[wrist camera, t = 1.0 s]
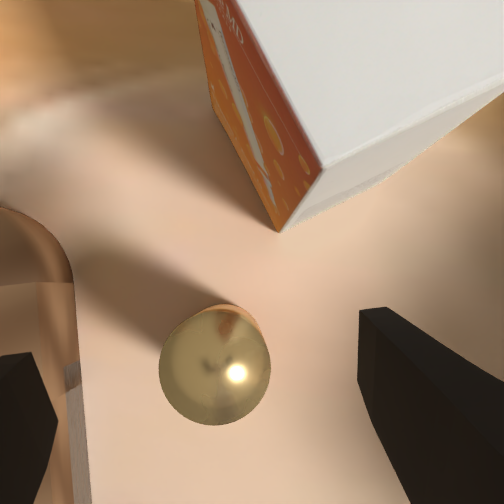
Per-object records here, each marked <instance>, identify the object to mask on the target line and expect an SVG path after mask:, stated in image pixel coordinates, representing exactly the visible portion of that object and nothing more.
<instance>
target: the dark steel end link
mask: <svg viewBox="0 0 504 504" xmlns="http://www.w3.org/2000/svg"><path fill="white" fill-rule="evenodd" d="M77 362H78V363H77ZM73 364H74V365H76V366H74V365H73ZM77 364H78V365H77ZM79 366H80V360H79V361H76V362H74V363H72V364H70V365H67V366H65V367H63V368H64V369H63V370H64V371H65V373H64V377H65V376H66V378H64V380H66V379H67V376H68V377H69V378H68V379H67V380H66V381H67V382H68V383H69V382H70V384H71V382H72V380H73V379H70V377H71V376H73V377H74V379H76V378H77V379H76V380H77V381H78V382H79V379H81V377H80V378H79V377H76V376H78V375H81V372H80V371H81V368H80V367H79ZM68 367H69V369H70V370H69V369H68ZM76 367H77V369H78V370H77V369H76ZM66 368H67V369H66ZM73 368H74V369H75V370H76V371H77V372H76V371H75V370H74V371H73ZM79 368H80V369H79ZM68 370H69V371H68ZM71 371H72V372H71ZM69 372H70V373H71V374H73V375H71V374H70V375H71V376H70V375H69ZM67 373H68V374H67ZM74 373H76V374H74ZM77 373H78V375H77ZM79 373H80V374H79ZM65 374H66V375H65ZM74 375H76V376H74ZM73 377H72V378H73ZM75 377H76V378H75ZM78 378H79V379H78ZM69 379H70V380H69ZM68 380H69V381H68ZM64 382H65V381H64ZM65 383H66V382H65ZM68 383H66V384H67V385H66V384H65V387H66V386H68ZM75 383H76V382H75V381H74V385H77V384H75ZM79 383H80V382H79ZM69 386H70V385H69ZM69 386H68V387H69ZM70 387H72V384H71V386H70ZM74 387H75V386H74ZM66 388H67V387H66ZM65 395H66V407H67V420H68V433H69V445H70V458H71V470H72V483H73V495H74V504H92V500H91V488H90V476H89V464H88V452H87V440H86V428H85V416H84V404H83V392H82V384H81V383H80V385H78V386H77V387H75V388H72V389H71V390H70V391H69V390H68V392H66V393H65Z"/></svg>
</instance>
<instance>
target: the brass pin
mask: <svg viewBox="0 0 504 504" xmlns="http://www.w3.org/2000/svg"><path fill="white" fill-rule="evenodd" d="M270 372H271V364H270V356H269V352H268V349H267V346H266V343H265V341H264V338H263V336H262V333H261V331H260V328H259V326H258V324H257V322H256V321H255V319H254V318H253V317H252V316H251V315H250V314H249V313H248V312H247V311H245V310H244V309H242V308H240V307H238V306H235V305H231V304H218V305H213V306H210V307H208V308H206V309H204V310H202V311H201V312H199V313H197V314H195V315H194V316H192V317H190V318H188V319H187V320H185V321H184V322H182V323H181V324H180V325H178V326H177V327H176V328H175V329H174V330H173V332H172V333H171V334H170V335H169V337H168V338H167V340H166V342H165V344H164V346H163V349H162V351H161V355H160V359H159V378H160V383H161V387H162V390H163V392H164V394H165V396H166V398H167V399H168V401H169V403H170V404H171V405H172V406H173V407H174V409H176V410H177V411H178V412H179V413H180V414H181V415H183V416H184V417H186V418H188V419H189V420H191V421H194V422H197V423H200V424H204V425H224V424H229V423H232V422H235V421H237V420H239V419H241V418H243V417H244V416H246V415H247V414H249V413H250V412H251V411H252V410H253V409H254V408H255V407H256V406H257V405H258V403H259V402H260V401H261V399H262V398H263V396H264V394H265V392H266V390H267V387H268V384H269V379H270Z"/></svg>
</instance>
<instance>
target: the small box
mask: <svg viewBox="0 0 504 504" xmlns="http://www.w3.org/2000/svg"><path fill="white" fill-rule="evenodd" d="M194 1H195V7H196V14H197V20H198V26H199V32H200V38H201V43H202V49H203V55H204V60H205V66H206V72H207V78H208V85H209V92H210V97H211V103H212V108H213V110H214V112H215V113H216V115H217V117H218V118H219V120H220V122H221V124H222V125H223V127H224V129H225V131H226V133H227V134H228V136H229V138H230V140H231V142H232V144H233V146H234V148H235V150H236V152H237V154H238V155H239V157H240V159H241V161H242V163H243V165H244V167H245V169H246V171H247V173H248V175H249V176H250V178H251V180H252V182H253V184H254V186H255V188H256V190H257V192H258V194H259V196H260V198H261V200H262V202H263V204H264V206H265V208H266V210H267V212H268V214H269V216H270V218H271V220H272V222H273V224H274V226H275V228H276V231H277V232H278V233H282V232H285V231H287V230H289V229H291V228H293V227H295V226H297V225H299V224H301V223H303V222H305V221H307V220H308V219H310V218H312V217H314V216H316V215H318V214H320V213H322V212H324V211H326V210H328V209H330V208H332V207H334V206H336V205H338V204H340V203H342V202H344V201H346V200H348V199H351V198H353V197H355V196H357V195H359V194H361V193H363V192H365V191H367V190H369V189H371V188H373V187H375V186H377V185H378V184H380V183H381V182H383V181H384V180H386V179H387V178H388V177H390V176H391V175H392V174H394V173H395V172H397V171H398V170H399V169H401V168H402V167H403V166H405V165H406V164H408V163H409V162H410V161H411V160H413V159H414V158H415V157H417V156H418V155H419V154H421V153H422V152H423V151H425V150H426V149H427V148H428V147H430V146H431V145H433V144H434V143H435V142H437V141H438V140H440V139H441V138H442V137H444V136H445V135H446V134H448V133H449V132H450V131H452V130H453V129H454V128H456V127H457V126H459V125H460V124H461V123H463V122H464V121H465V120H467V119H468V118H469V117H471V116H472V115H473V114H475V113H476V112H477V111H479V110H480V109H481V108H483V107H484V106H485V105H487V104H488V103H490V102H491V101H492V100H494V99H495V98H496V97H498V96H499V95H500V94H502V93H503V92H504V0H194Z"/></svg>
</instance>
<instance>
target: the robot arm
mask: <svg viewBox="0 0 504 504" xmlns="http://www.w3.org/2000/svg"><path fill="white" fill-rule="evenodd" d="M357 381H358V384H359V387H360V390H361V393H362V396H363V399H364V402H365V405H366V408H367V411H368V414H369V416H370V419H371V422H372V424H373V426H374V428H375V431H376V433H377V435H378V437H379V439H380V441H381V443H382V445H383V447H384V449H385V451H386V454H387V456H388V458H389V460H390V462H391V464H392V466H393V468H394V470H395V472H396V474H397V476H398V478H399V480H400V482H401V484H402V486H403V488H404V490H405V493H406V495H407V497H408V499H409V501H410V503H411V504H504V382H502V381H501V380H499V379H497V378H495V377H494V376H492V375H490V374H489V373H487V372H485V371H484V370H482V369H480V368H479V367H477V366H476V365H474V364H472V363H471V362H469V361H467V360H466V359H464V358H463V357H461V356H460V355H458V354H457V353H455V352H453V351H452V350H450V349H449V348H447V347H446V346H444V345H443V344H441V343H440V342H438V341H437V340H435V339H434V338H432V337H431V336H429V335H428V334H426V333H425V332H423V331H422V330H420V329H419V328H418V327H416V326H415V325H413V324H412V323H410V322H409V321H407V320H406V319H404V318H403V317H401V316H400V315H398V314H397V313H395V312H394V311H392V310H391V309H389V308H387V307H380V308H372V309H364V310H359V339H358V371H357ZM58 422H59V420H58V418H57V415H56V413H55V410H54V408H53V405H52V403H51V400H50V398H49V395H48V392H47V390H46V387H45V385H44V382H43V380H42V377H41V375H40V372H39V370H38V367H37V365H36V362H35V360H34V357H33V355H32V352H25V353H17V354H9V355H2V356H1V357H0V504H33V503H34V501H35V498H36V496H37V493H38V490H39V488H40V485H41V483H42V480H43V477H44V475H45V472H46V469H47V466H48V462H49V458H50V455H51V451H52V447H53V443H54V439H55V435H56V430H57V426H58Z"/></svg>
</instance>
